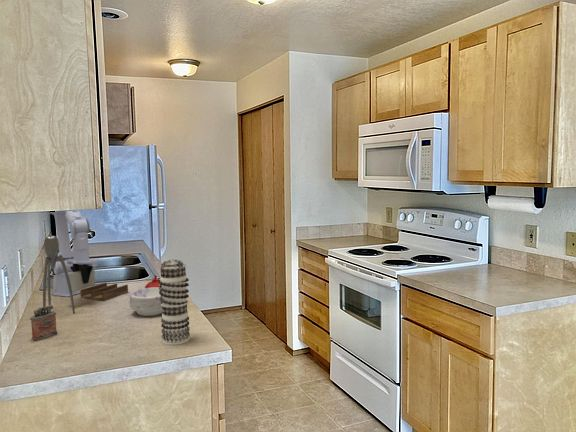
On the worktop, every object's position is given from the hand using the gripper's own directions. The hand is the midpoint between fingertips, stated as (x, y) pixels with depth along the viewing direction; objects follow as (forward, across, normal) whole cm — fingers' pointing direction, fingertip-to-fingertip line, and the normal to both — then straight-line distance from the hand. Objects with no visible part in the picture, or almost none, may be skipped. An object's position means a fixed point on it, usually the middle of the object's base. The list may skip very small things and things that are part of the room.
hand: (82, 282), depth 191 cm
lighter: (+9, +18, -33) cm, 39 cm away
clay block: (+2, 0, 0) cm, 2 cm away
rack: (+9, -3, +14) cm, 17 cm away
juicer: (+9, 0, -14) cm, 17 cm away
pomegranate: (+9, +20, +20) cm, 30 cm away
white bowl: (+9, +33, +1) cm, 34 cm away
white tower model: (+9, +60, -20) cm, 64 cm away
